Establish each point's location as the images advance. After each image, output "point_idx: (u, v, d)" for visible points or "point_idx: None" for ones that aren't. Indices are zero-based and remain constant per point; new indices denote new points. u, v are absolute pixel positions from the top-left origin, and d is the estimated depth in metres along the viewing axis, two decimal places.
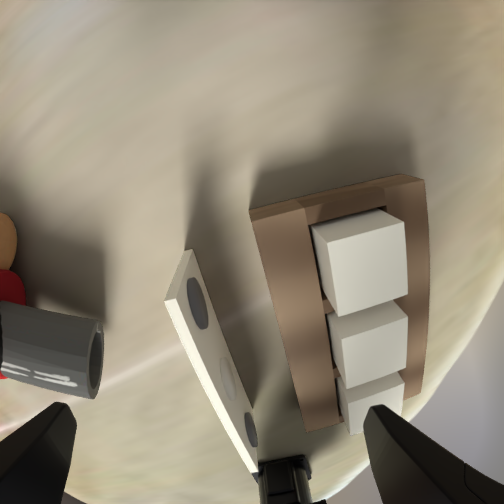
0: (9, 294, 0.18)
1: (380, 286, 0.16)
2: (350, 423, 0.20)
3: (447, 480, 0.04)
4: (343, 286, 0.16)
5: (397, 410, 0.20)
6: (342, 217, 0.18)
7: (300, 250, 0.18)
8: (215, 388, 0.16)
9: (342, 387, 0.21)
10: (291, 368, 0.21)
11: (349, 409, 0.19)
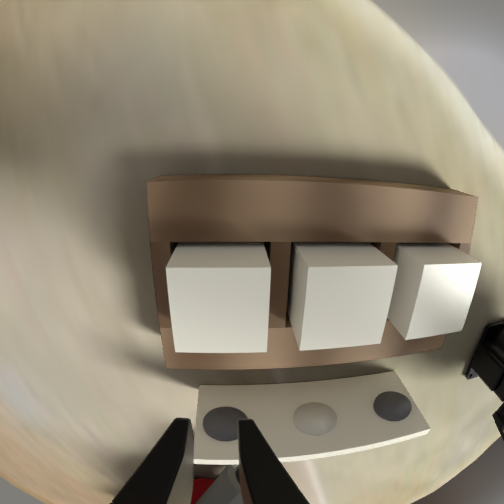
0: (196, 494, 0.24)
1: (244, 305, 0.14)
2: (440, 333, 0.15)
3: None
4: (229, 344, 0.14)
5: (465, 270, 0.14)
6: None
7: None
8: (292, 455, 0.16)
9: (393, 323, 0.17)
10: (340, 362, 0.18)
11: (416, 337, 0.15)
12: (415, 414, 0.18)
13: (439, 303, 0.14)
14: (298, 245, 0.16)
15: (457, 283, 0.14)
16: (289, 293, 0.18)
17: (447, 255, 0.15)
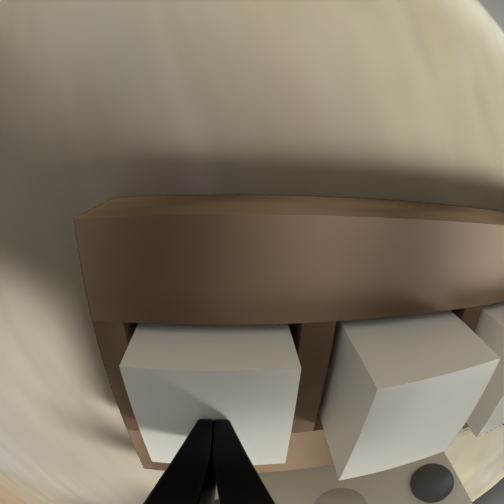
0: None
1: (253, 417, 0.08)
2: None
3: None
4: None
5: None
6: None
7: None
8: None
9: None
10: None
11: (488, 430, 0.08)
12: (457, 490, 0.11)
13: None
14: (346, 323, 0.09)
15: None
16: None
17: None
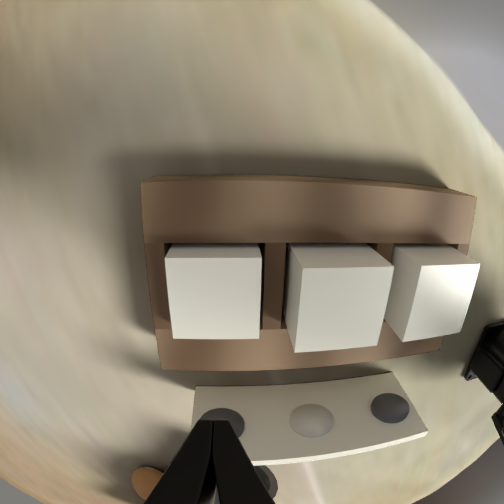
0: None
1: (237, 293, 0.15)
2: (438, 335, 0.15)
3: None
4: (223, 331, 0.15)
5: (463, 271, 0.14)
6: None
7: (197, 340, 0.17)
8: (287, 457, 0.16)
9: (390, 324, 0.16)
10: (337, 364, 0.18)
11: (413, 339, 0.15)
12: (413, 416, 0.18)
13: (436, 305, 0.14)
14: (293, 246, 0.16)
15: (455, 285, 0.14)
16: (285, 294, 0.17)
17: (445, 256, 0.15)
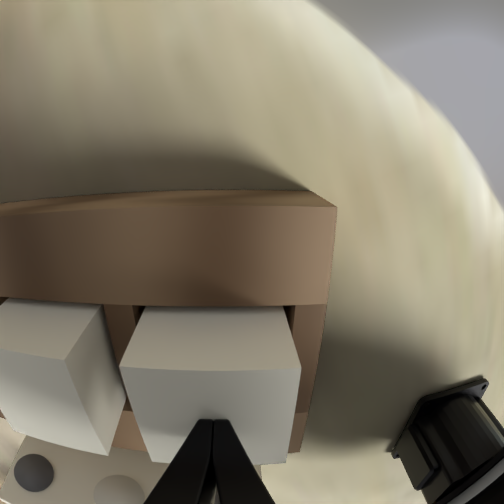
0: None
1: None
2: None
3: None
4: None
5: (247, 382, 0.07)
6: None
7: None
8: None
9: None
10: (122, 447, 0.12)
11: None
12: None
13: None
14: (9, 300, 0.09)
15: (231, 403, 0.07)
16: None
17: (223, 340, 0.08)
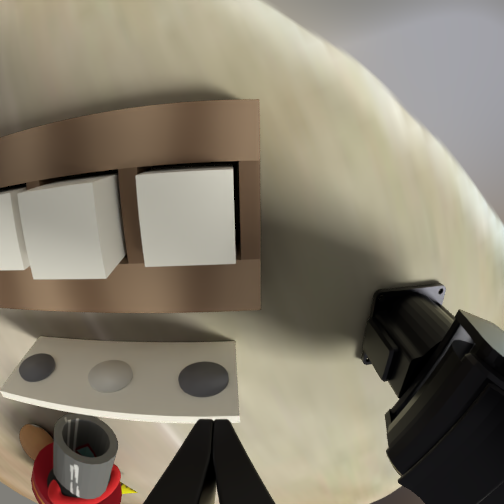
0: None
1: (1, 226, 0.13)
2: (197, 263, 0.15)
3: None
4: (2, 262, 0.14)
5: (204, 179, 0.13)
6: None
7: (3, 277, 0.15)
8: (68, 405, 0.14)
9: None
10: (117, 311, 0.17)
11: (159, 265, 0.15)
12: (228, 394, 0.16)
13: (174, 222, 0.14)
14: (48, 183, 0.14)
15: (195, 197, 0.14)
16: None
17: (194, 168, 0.14)
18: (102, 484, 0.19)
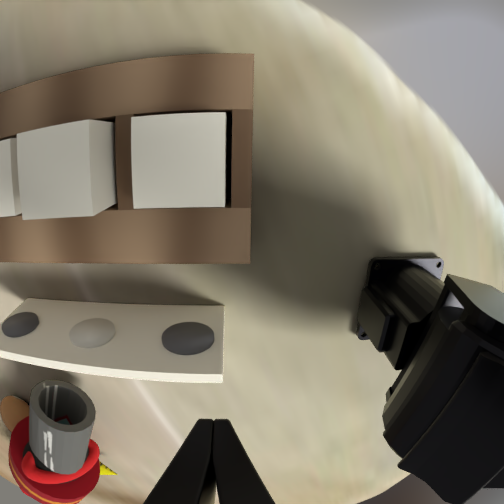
0: None
1: None
2: (185, 205, 0.14)
3: None
4: None
5: (197, 121, 0.13)
6: None
7: None
8: (45, 358, 0.14)
9: None
10: (104, 261, 0.16)
11: (147, 206, 0.14)
12: (213, 353, 0.16)
13: (166, 163, 0.14)
14: None
15: (187, 138, 0.13)
16: None
17: None
18: (77, 458, 0.18)
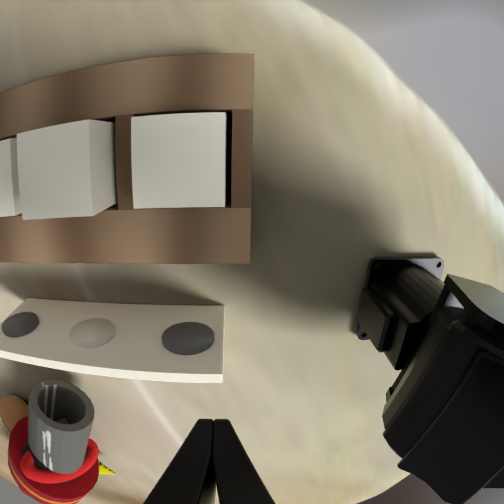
0: None
1: None
2: (185, 205, 0.14)
3: None
4: None
5: (197, 121, 0.13)
6: None
7: None
8: (45, 358, 0.14)
9: None
10: (104, 261, 0.16)
11: (147, 206, 0.14)
12: (213, 353, 0.16)
13: (166, 163, 0.14)
14: None
15: (187, 138, 0.13)
16: None
17: None
18: (76, 457, 0.18)
